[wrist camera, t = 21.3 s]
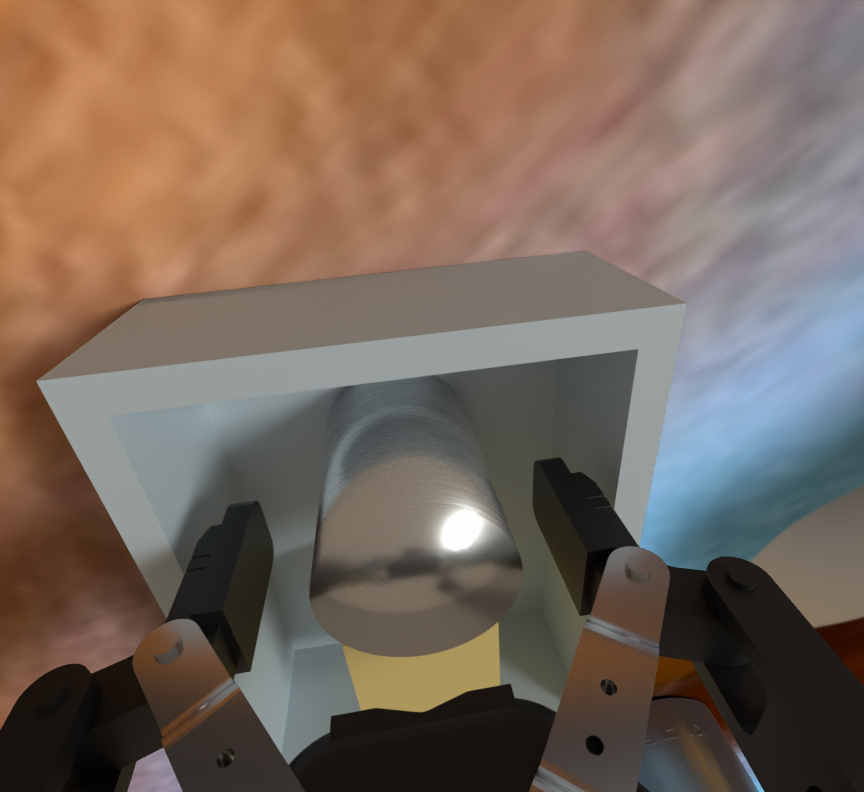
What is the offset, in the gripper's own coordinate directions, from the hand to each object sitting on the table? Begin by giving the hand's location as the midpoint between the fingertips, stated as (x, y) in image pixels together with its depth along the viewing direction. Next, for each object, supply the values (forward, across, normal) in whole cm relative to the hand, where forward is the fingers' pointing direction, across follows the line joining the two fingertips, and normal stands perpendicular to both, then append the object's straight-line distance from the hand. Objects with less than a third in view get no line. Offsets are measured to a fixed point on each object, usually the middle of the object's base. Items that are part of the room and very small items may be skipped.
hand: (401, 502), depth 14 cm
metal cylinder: (+4, 0, 0) cm, 4 cm away
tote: (+4, 0, +3) cm, 6 cm away
